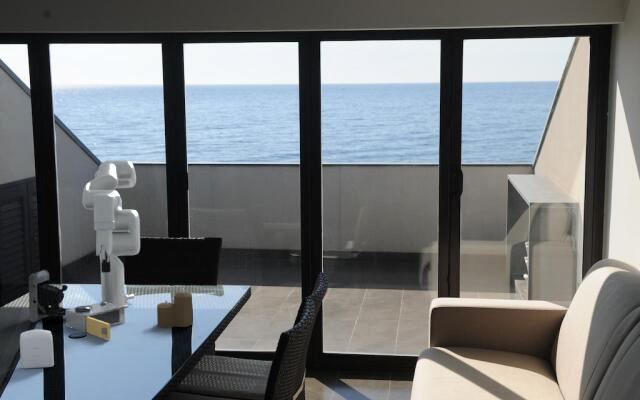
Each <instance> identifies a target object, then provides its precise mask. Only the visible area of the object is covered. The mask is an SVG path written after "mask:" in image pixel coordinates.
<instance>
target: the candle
mask: <svg viewBox="0 0 640 400" xmlns="http://www.w3.org/2000/svg"><path fill="white" fill-rule="evenodd" d="M156 316H157V317H156V319H157V321H156V322H157V328H163V329H169V328H174V327H179V328H186V327H190V325H192V326H193V325H194V323H193V296H192V293H191V292H190V291H186V290H185V288H184V286H182V289H181V291H176V292H175V293H174V295H173V302H169V301H168V300H167V299H165V301H164V302H160V303H158V304H157V305H156Z"/></svg>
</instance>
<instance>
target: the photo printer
mask: <svg viewBox="0 0 640 400" xmlns="http://www.w3.org/2000/svg"><path fill="white" fill-rule="evenodd" d="M53 341H54V340H53V335H52V332H51V331H50V330H48V329H47V330H46V329H31V330H30V329H29V330H26V331H24V332H21V333H20V337H19V350H20V367H21V369H22V370H23V369H36V368H38V369H40V368H50V367H51V368H52V367H54V365H55V361H54V359H55V358H54V357H55V356H54V342H53Z"/></svg>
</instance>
